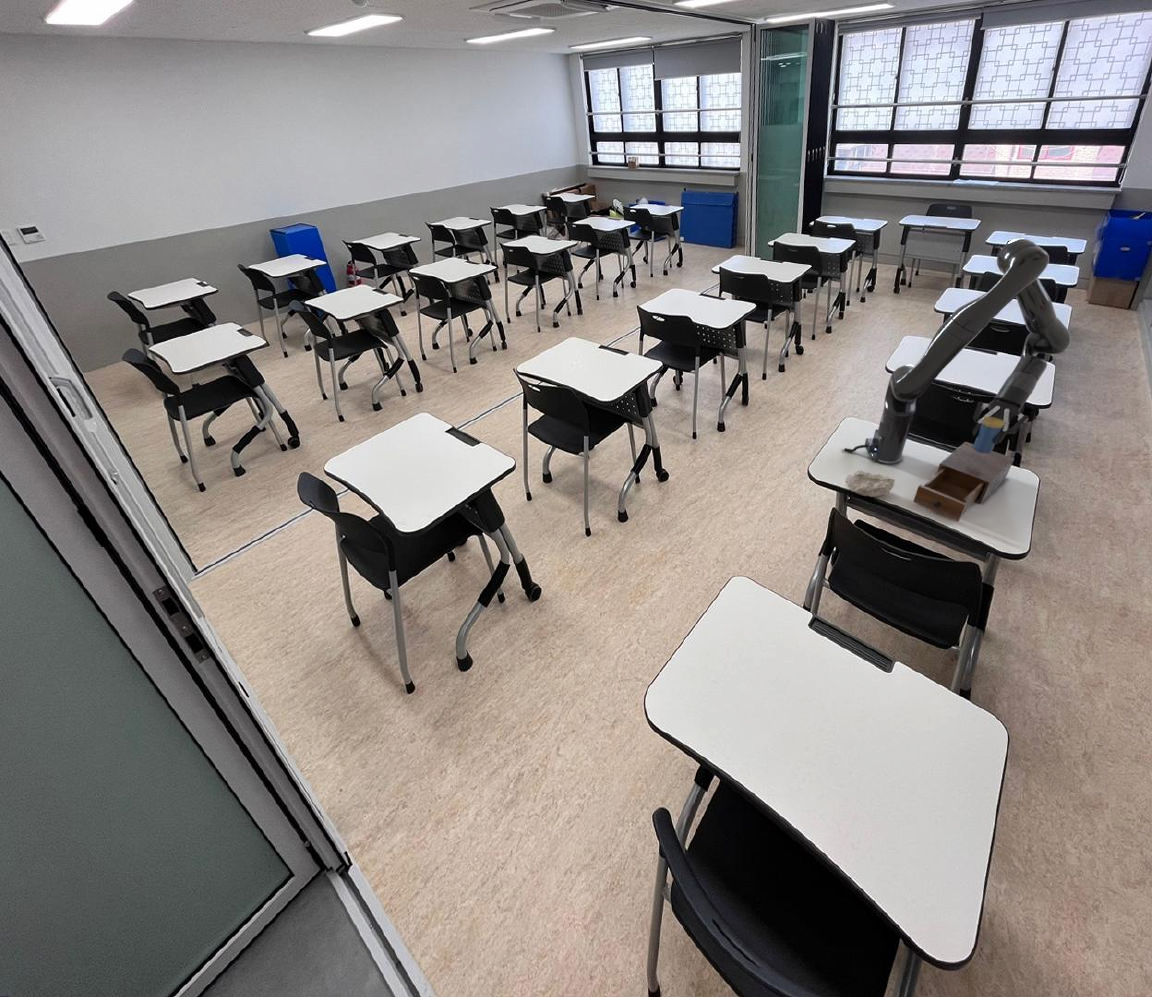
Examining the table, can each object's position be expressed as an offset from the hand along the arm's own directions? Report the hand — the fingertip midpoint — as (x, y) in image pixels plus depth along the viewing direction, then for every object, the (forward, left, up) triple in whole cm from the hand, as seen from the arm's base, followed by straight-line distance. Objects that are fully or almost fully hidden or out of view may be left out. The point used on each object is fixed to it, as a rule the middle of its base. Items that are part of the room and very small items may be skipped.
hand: (984, 439), depth 175 cm
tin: (+1, +1, -4) cm, 5 cm away
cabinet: (+1, +1, -17) cm, 17 cm away
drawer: (-10, -10, -16) cm, 21 cm away
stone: (-32, -4, -17) cm, 36 cm away
